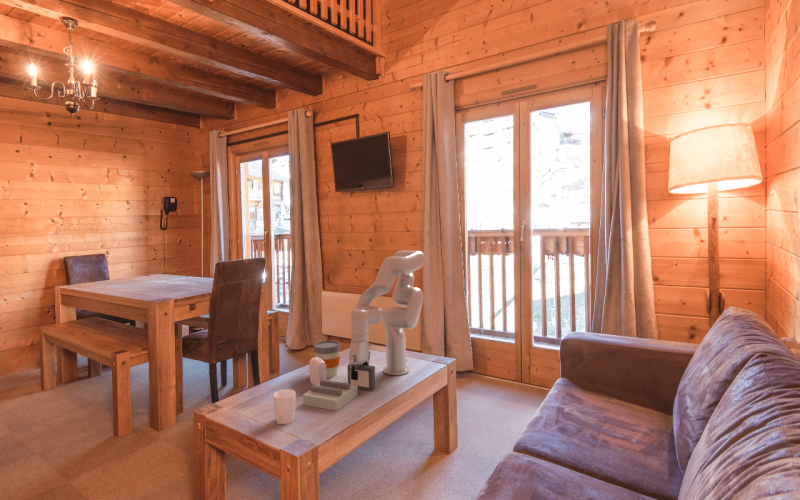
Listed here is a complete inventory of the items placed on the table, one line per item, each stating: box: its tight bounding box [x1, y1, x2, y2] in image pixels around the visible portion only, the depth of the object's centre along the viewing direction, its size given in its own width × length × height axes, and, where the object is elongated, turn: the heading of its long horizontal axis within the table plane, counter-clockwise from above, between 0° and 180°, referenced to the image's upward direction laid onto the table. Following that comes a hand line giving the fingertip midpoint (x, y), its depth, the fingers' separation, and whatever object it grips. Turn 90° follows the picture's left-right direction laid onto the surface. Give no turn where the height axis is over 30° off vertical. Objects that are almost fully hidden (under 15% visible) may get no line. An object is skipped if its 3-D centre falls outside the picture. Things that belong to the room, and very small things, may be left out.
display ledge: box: [302, 379, 359, 412], centre depth 164 cm, size 16×16×6 cm
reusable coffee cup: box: [313, 340, 341, 379], centre depth 192 cm, size 13×12×15 cm
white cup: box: [273, 389, 297, 425], centre depth 147 cm, size 8×8×10 cm
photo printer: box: [309, 356, 328, 386], centre depth 180 cm, size 10×4×12 cm, turn 39°
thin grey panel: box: [347, 364, 376, 392], centre depth 175 cm, size 3×12×10 cm, turn 66°
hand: (360, 376), depth 175 cm, fingers open, 9 cm apart
